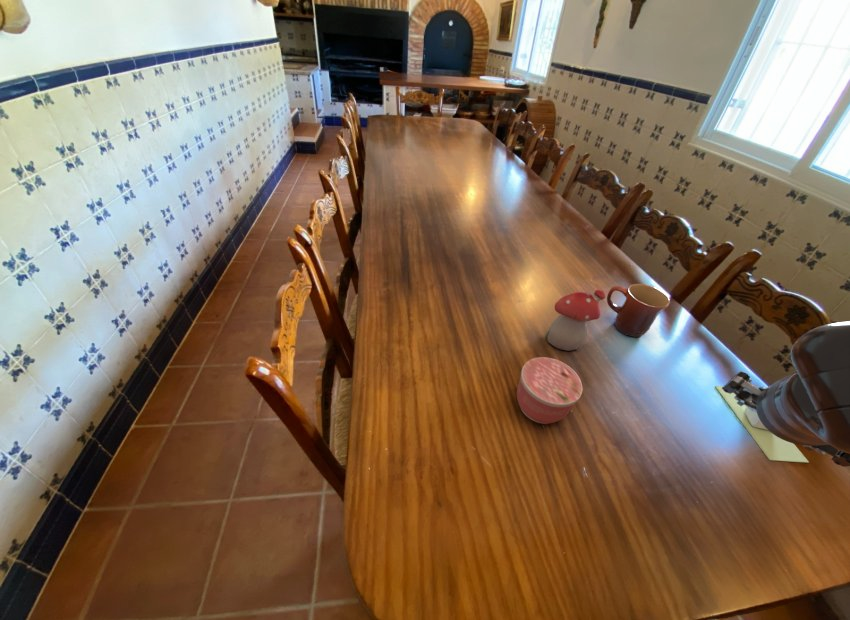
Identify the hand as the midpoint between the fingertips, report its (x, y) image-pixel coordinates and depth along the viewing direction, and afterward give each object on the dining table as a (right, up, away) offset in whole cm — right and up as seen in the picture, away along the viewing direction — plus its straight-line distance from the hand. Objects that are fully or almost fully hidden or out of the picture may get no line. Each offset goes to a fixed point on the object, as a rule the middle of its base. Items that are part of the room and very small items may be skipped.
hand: (775, 420), depth 53 cm
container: (-30, -2, +15) cm, 34 cm away
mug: (-4, +12, +35) cm, 37 cm away
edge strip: (+12, -5, +16) cm, 20 cm away
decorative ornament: (-20, +9, +29) cm, 36 cm away
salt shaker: (+12, -5, +15) cm, 20 cm away
